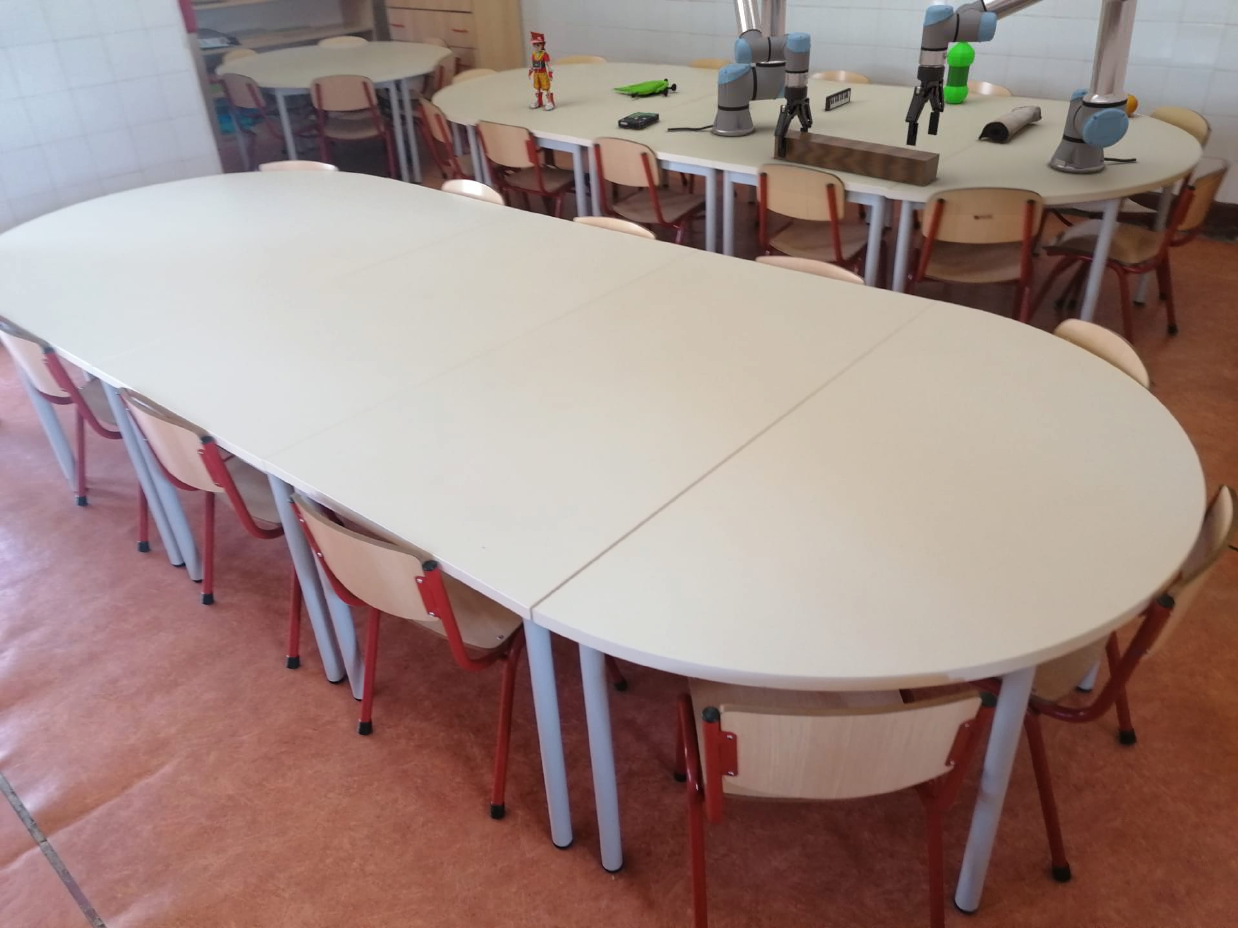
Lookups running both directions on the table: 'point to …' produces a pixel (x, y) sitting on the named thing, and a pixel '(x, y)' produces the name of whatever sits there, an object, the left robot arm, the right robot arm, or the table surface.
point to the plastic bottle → (958, 72)
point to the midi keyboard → (837, 99)
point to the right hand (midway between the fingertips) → (921, 140)
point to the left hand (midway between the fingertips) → (792, 152)
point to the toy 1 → (541, 71)
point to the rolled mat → (1010, 123)
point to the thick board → (860, 157)
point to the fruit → (1131, 104)
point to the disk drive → (638, 120)
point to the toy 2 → (648, 88)
